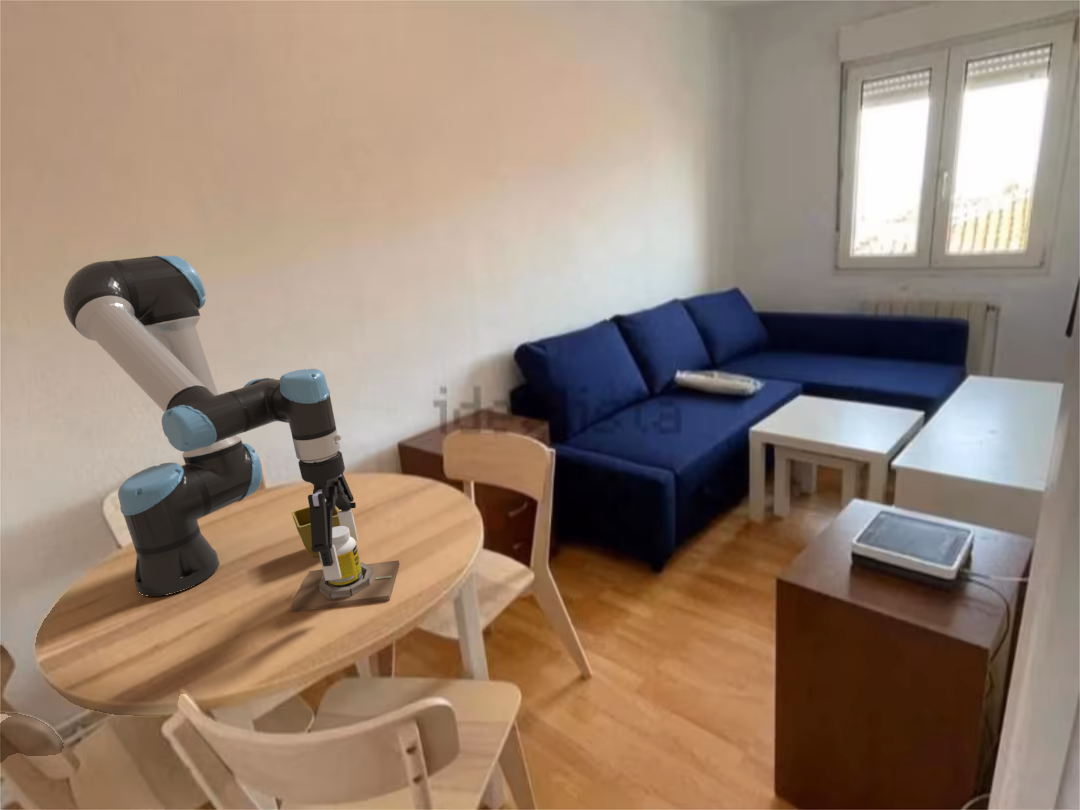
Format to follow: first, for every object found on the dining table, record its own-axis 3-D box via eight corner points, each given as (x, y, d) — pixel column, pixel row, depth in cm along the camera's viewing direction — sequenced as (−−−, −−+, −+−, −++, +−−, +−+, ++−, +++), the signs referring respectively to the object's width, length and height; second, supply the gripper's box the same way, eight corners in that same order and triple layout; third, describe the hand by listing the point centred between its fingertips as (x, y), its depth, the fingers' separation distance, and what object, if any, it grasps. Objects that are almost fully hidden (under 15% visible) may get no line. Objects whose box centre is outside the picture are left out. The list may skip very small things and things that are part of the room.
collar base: (291, 612, 109) (288, 601, 108) (310, 575, 120) (308, 564, 120) (389, 600, 110) (387, 588, 109) (399, 564, 121) (397, 554, 121)
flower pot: (349, 551, 128) (341, 513, 126) (307, 565, 124) (298, 527, 122) (339, 535, 136) (331, 499, 133) (299, 548, 132) (290, 511, 129)
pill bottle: (366, 584, 114) (356, 533, 110) (333, 596, 111) (321, 544, 108) (359, 569, 119) (349, 520, 116) (327, 580, 116) (316, 530, 113)
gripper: (321, 481, 95) (347, 594, 101) (356, 430, 119) (375, 524, 125) (274, 486, 95) (302, 600, 101) (318, 434, 119) (339, 529, 125)
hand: (342, 558), depth 113 cm, fingers open, 13 cm apart
